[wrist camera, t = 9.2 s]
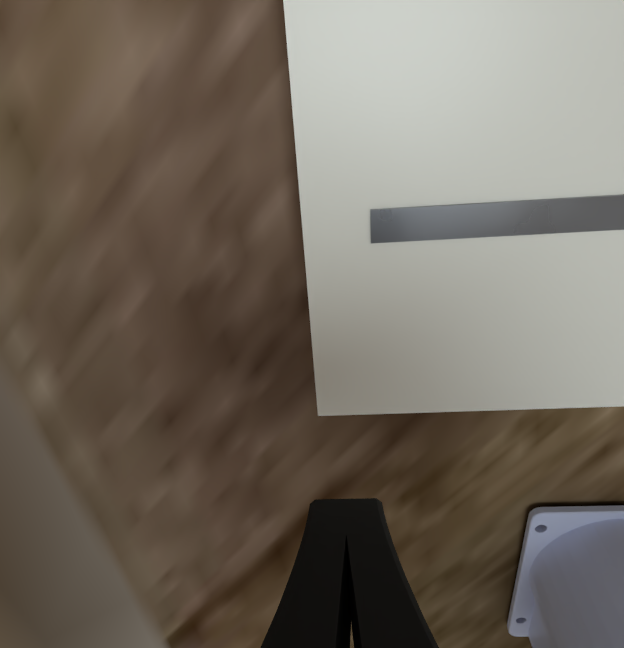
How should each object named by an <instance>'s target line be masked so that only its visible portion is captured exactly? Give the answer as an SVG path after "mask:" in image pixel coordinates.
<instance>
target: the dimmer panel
mask: <svg viewBox="0 0 624 648" xmlns="http://www.w3.org/2000/svg"><path fill="white" fill-rule="evenodd" d="M283 3H284V15H285V27H286V39H287V51H288V63H289V75H290V87H291V99H292V111H293V123H294V135H295V147H296V159H297V171H298V183H299V195H300V207H301V219H302V231H303V243H304V255H305V267H306V279H307V291H308V303H309V315H310V327H311V339H312V351H313V363H314V375H315V387H316V399H317V411H318V416H335V415H366V414H398V413H429V412H460V411H492V410H523V409H555V408H586V407H617V406H624V0H283Z"/></svg>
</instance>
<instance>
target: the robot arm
mask: <svg viewBox="0 0 624 648" xmlns="http://www.w3.org/2000/svg"><path fill="white" fill-rule="evenodd" d="M351 623H352V632H353V641H354V648H439V647H438V645H437V643H436V641H435V639H434V637H433V635H432V633H431V631H430V629H429V627H428V625H427V623H426V621H425V619H424V617H423V614H422V612H421V610H420V608H419V606H418V603H417V601H416V599H415V597H414V594H413V592H412V590H411V587H410V585H409V583H408V581H407V578H406V576H405V573H404V571H403V569H402V566H401V564H400V561H399V558H398V556H397V553H396V550H395V547H394V545H393V542H392V539H391V536H390V533H389V530H388V526H387V523H386V519H385V515H384V511H383V506H382V502H380V501H379V500H378V499H376V498H371V499H323V500H314V501H313V502H312V503H311V504H310V507H309V513H308V518H307V523H306V527H305V531H304V534H303V538H302V541H301V545H300V548H299V551H298V554H297V557H296V560H295V563H294V566H293V569H292V572H291V575H290V577H289V580H288V583H287V585H286V588H285V591H284V593H283V596H282V599H281V601H280V604H279V606H278V609H277V611H276V614H275V616H274V618H273V621H272V623H271V625H270V628H269V630H268V632H267V634H266V637H265V639H264V641H263V644H262V646H261V648H350V632H351ZM507 628H508V632H509V633H510V635H512V636H516V637H529V639H530V642H531V645H532V648H624V505H616V506H563V507H537V508H535V509H533V510H532V511H530V513H529V515H528V520H527V525H526V530H525V535H524V540H523V546H522V551H521V556H520V561H519V566H518V571H517V576H516V581H515V586H514V591H513V596H512V602H511V607H510V612H509V617H508V622H507Z"/></svg>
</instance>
